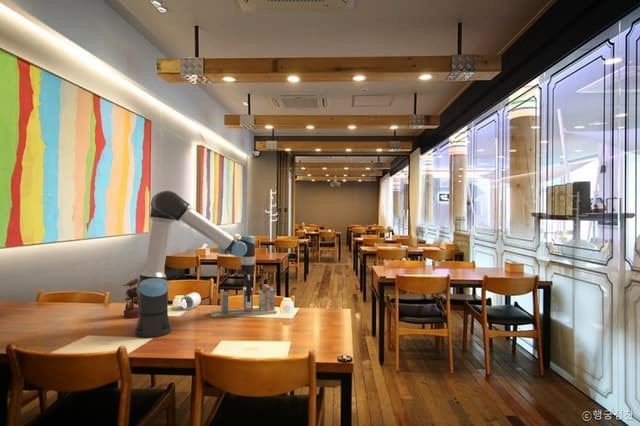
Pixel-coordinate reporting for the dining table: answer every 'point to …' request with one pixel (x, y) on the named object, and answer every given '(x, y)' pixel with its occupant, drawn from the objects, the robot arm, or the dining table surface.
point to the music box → (130, 310)
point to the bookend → (224, 302)
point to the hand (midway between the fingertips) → (247, 305)
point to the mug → (192, 300)
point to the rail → (264, 308)
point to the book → (245, 300)
